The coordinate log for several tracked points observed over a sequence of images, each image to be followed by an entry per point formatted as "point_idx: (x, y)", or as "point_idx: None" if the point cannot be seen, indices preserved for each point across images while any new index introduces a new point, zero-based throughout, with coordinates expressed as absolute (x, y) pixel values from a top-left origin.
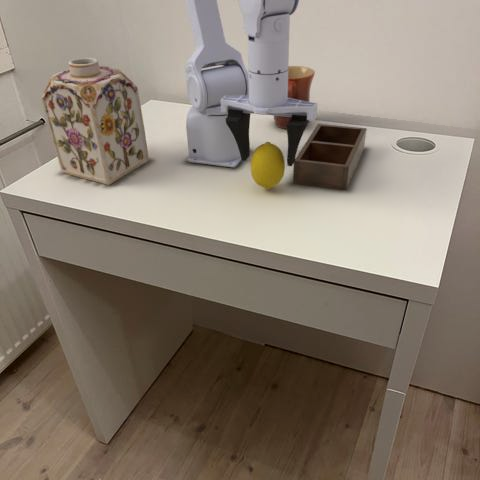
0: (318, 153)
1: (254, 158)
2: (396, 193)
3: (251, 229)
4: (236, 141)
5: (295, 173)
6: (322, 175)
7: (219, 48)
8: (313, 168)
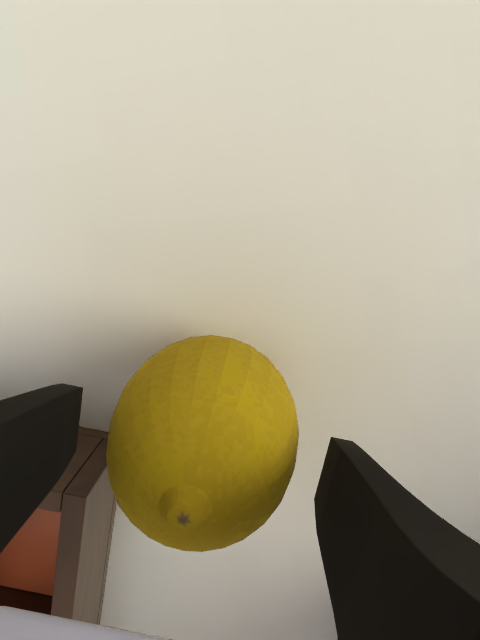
0: None
1: (272, 415)
2: None
3: (242, 10)
4: (424, 507)
5: (99, 457)
6: None
7: None
8: None
